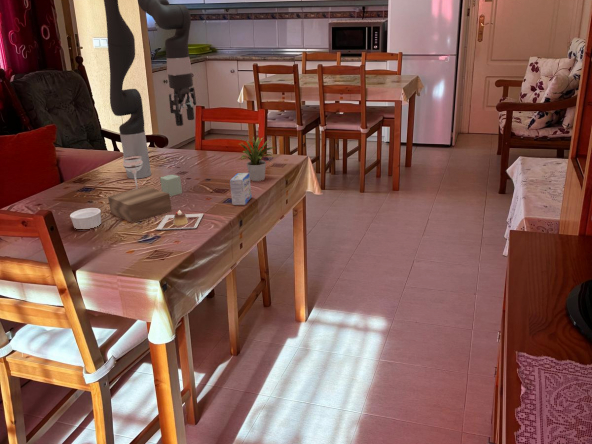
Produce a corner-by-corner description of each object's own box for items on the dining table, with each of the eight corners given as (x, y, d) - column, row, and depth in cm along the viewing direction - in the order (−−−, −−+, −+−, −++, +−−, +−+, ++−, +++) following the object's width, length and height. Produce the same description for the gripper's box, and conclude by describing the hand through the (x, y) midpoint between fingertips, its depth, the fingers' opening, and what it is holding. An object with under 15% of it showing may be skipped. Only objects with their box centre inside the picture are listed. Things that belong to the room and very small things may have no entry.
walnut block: (111, 214, 185) (107, 196, 183) (149, 202, 193) (146, 185, 191) (132, 224, 175) (129, 205, 173) (171, 211, 184) (169, 193, 182)
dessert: (166, 218, 179) (164, 203, 177) (204, 216, 178) (202, 202, 176) (156, 232, 168) (153, 217, 166) (196, 231, 167) (195, 215, 165)
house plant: (251, 188, 201) (247, 142, 195) (229, 181, 211) (224, 137, 205) (282, 179, 209) (279, 135, 203) (259, 172, 219) (256, 130, 213)
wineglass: (150, 189, 207) (145, 156, 203) (134, 194, 203) (128, 161, 198) (140, 186, 212) (135, 154, 207) (124, 191, 207) (118, 158, 203)
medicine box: (245, 205, 184) (242, 179, 181) (232, 205, 185) (229, 179, 182) (251, 197, 191) (249, 172, 188) (239, 197, 192) (236, 172, 189)
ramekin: (85, 233, 169) (82, 219, 168) (66, 228, 174) (63, 215, 172) (109, 223, 176) (106, 210, 175) (90, 219, 181) (87, 206, 179)
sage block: (162, 194, 201) (159, 177, 199) (174, 190, 204) (172, 174, 202) (169, 196, 198) (167, 180, 196) (182, 193, 201) (180, 176, 199)
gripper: (178, 69, 189) (184, 118, 196) (158, 75, 177) (165, 127, 183) (199, 68, 188) (204, 118, 194) (180, 75, 175) (186, 127, 181)
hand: (185, 122), depth 188 cm, fingers open, 8 cm apart
